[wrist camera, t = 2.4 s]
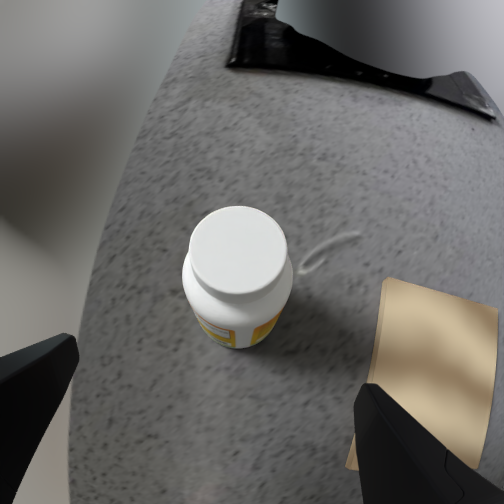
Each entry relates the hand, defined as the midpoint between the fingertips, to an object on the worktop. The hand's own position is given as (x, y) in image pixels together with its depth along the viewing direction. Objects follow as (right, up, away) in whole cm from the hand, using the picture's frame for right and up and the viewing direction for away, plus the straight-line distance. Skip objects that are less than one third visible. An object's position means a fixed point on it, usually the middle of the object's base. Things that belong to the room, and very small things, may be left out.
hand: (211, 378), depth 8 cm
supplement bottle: (0, 0, +13) cm, 13 cm away
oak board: (+15, -6, +11) cm, 19 cm away
